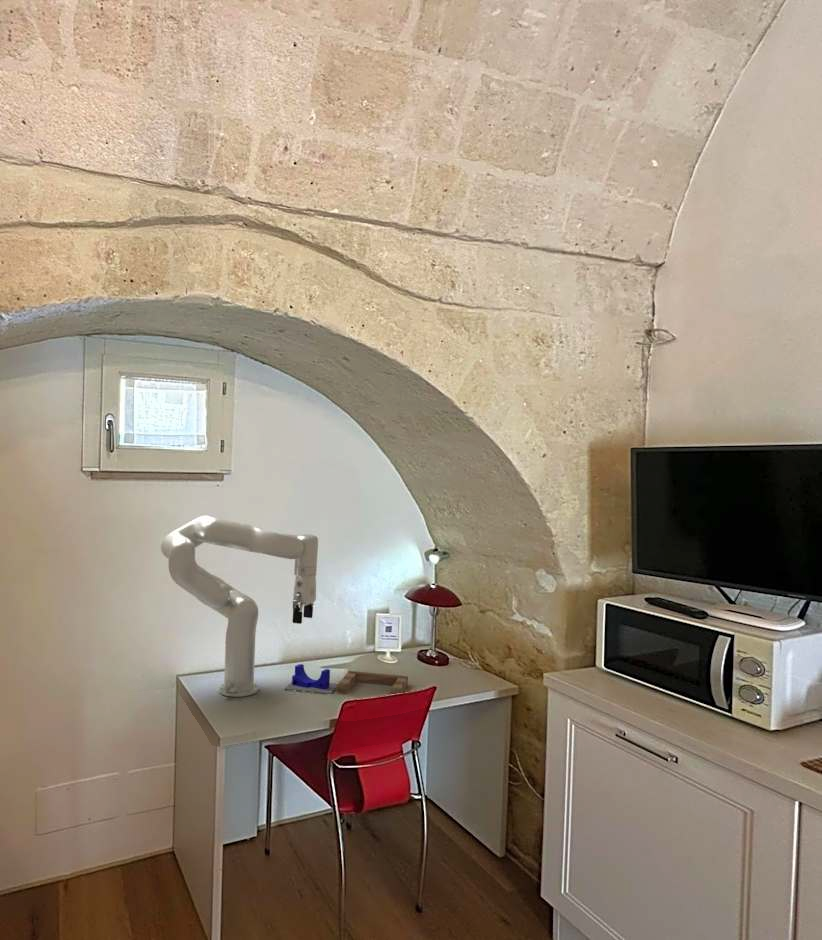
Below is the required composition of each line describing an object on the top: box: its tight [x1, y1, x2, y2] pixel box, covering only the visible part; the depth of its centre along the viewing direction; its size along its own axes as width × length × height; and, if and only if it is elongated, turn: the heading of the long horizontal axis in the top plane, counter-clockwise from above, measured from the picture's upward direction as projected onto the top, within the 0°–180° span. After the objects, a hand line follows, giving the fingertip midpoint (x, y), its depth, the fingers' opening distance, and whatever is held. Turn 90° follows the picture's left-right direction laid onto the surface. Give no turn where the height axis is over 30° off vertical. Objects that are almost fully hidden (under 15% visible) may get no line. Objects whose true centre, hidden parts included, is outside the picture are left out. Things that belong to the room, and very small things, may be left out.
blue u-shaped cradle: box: [291, 663, 331, 690], centre depth 246 cm, size 12×4×6 cm, turn 65°
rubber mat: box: [284, 681, 338, 695], centre depth 246 cm, size 10×16×1 cm, turn 80°
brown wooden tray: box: [336, 670, 409, 695], centre depth 247 cm, size 16×21×3 cm
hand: (302, 620), depth 251 cm, fingers open, 9 cm apart
